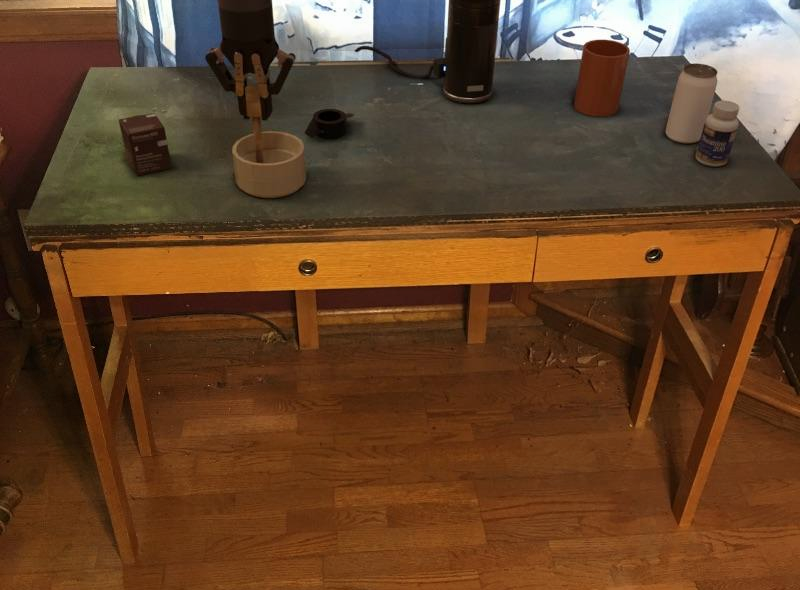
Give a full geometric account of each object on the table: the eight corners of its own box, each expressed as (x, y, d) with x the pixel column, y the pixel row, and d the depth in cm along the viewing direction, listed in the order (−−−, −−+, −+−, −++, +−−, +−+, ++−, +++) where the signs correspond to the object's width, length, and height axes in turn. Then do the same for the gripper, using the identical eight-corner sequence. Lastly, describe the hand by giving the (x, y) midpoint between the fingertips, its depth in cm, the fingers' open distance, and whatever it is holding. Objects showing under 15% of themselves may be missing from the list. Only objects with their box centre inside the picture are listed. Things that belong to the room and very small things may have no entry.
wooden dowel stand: (246, 183, 137) (237, 89, 127) (251, 172, 140) (243, 80, 130) (270, 185, 136) (263, 91, 127) (276, 174, 140) (269, 81, 130)
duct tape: (298, 125, 154) (297, 109, 152) (352, 119, 156) (352, 103, 154) (306, 144, 149) (305, 129, 147) (362, 138, 151) (362, 122, 149)
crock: (565, 101, 163) (574, 43, 156) (602, 94, 166) (612, 36, 158) (589, 119, 158) (599, 60, 150) (626, 112, 160) (639, 53, 153)
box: (136, 176, 140) (127, 134, 134) (126, 160, 143) (117, 118, 138) (172, 168, 142) (165, 126, 137) (162, 153, 146) (154, 111, 140)
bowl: (228, 172, 141) (224, 138, 137) (293, 160, 145) (290, 126, 140) (248, 205, 134) (244, 170, 130) (315, 191, 137) (314, 157, 133)
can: (702, 146, 151) (721, 79, 143) (665, 142, 152) (681, 75, 143) (700, 130, 156) (718, 64, 147) (664, 126, 156) (680, 60, 148)
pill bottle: (690, 161, 147) (705, 107, 140) (701, 149, 150) (716, 95, 143) (721, 170, 145) (737, 115, 138) (731, 158, 148) (748, 104, 141)
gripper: (299, -6, 122) (305, 110, 134) (203, -12, 123) (218, 104, 135) (288, 12, 117) (296, 132, 129) (188, 6, 118) (205, 125, 130)
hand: (256, 117), depth 132 cm, fingers closed on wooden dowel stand, 2 cm apart
